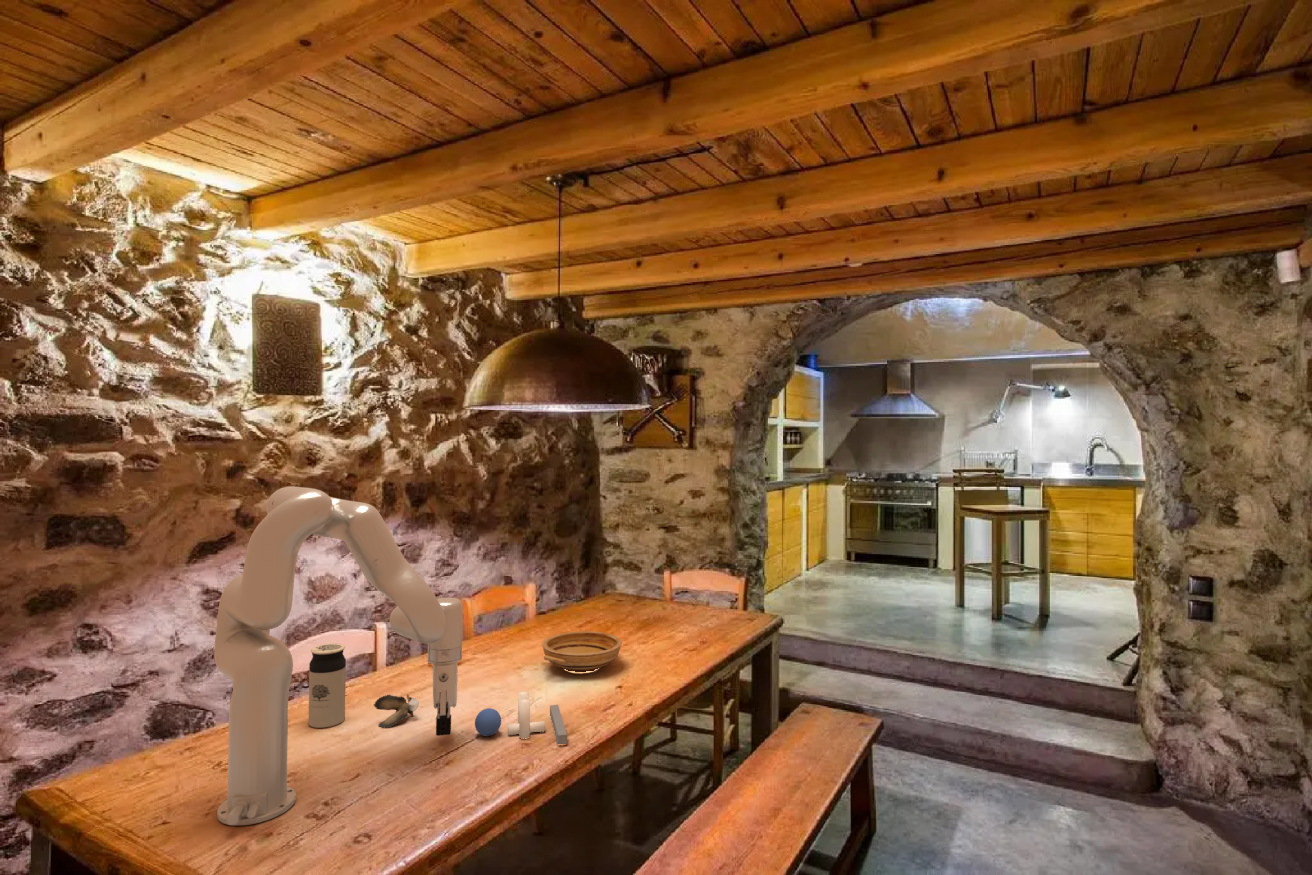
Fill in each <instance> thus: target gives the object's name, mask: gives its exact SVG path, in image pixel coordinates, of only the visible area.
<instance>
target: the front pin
mask: <svg viewBox="0 0 1312 875" xmlns="http://www.w3.org/2000/svg"><path fill="white" fill-rule="evenodd" d="M540 731H545V732H546V721H545V720H542V721H530V734H532V733H531V732H540ZM540 733H541V732H540ZM516 734H519V723H518V722H517V723H508V724H507V736H508V735H509V736H516Z"/></svg>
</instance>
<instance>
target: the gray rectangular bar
mask: <svg viewBox="0 0 1312 875" xmlns="http://www.w3.org/2000/svg"><path fill="white" fill-rule="evenodd" d="M560 710H561V709H560V707H559V704H551V705H549V716H551V718H550V721H551V720H552V722H551V724H552V723H553V726H552V728H553V727H554V729H553V732H554V731H555V733H554V737H555V736H556V737H555V741H556V740H557V741H556V744H567V743H568V734H567V733H568V732H567V731H566V726H565V723H564V721H563V720H564V719H563V717H562V713H561V711H560Z"/></svg>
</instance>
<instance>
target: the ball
mask: <svg viewBox="0 0 1312 875" xmlns="http://www.w3.org/2000/svg"><path fill="white" fill-rule="evenodd" d="M501 724H502V718H501V715H500V713H499V711H497V710H496V709H494V708H490V707H489V708H484V709H482V710H480V711H479V713H477V715H476V717H475V719H474V728H475V730H476V732H477V733H478V734H479V735H481V736H482V737H483V736H484V737H490V736H493V735H494V734H496V733H497V732H498V731H499V729H500V727H501Z"/></svg>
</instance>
